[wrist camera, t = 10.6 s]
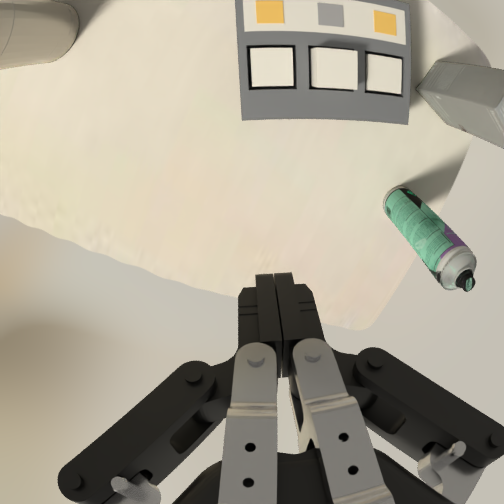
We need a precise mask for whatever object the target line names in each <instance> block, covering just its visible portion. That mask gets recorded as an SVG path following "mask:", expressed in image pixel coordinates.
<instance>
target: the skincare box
mask: <svg viewBox="0 0 504 504" xmlns="http://www.w3.org/2000/svg"><path fill="white" fill-rule="evenodd" d="M416 90H417V91H418V92H419V93H420V95H421V96H422V97H423V98H424V99H425V100H426V102H427V103H428V104H429V105H430V106H431V107H432V109H433V110H434V111H435V112H436V113H437V114H438V115H439V116H440V118H441V119H442V120H443V121H444V122H445V123H446V124H447V125H450V126H452V127H455V128H457V129H460V130H462V131H465V132H467V133H470V134H472V135H474V136H477V137H479V138H481V139H484V140H486V141H488V142H490V143H493V144H495V145H497V146H499V147H501V148H503V149H504V70H501V69H496V68H490V67H484V66H477V65H470V64H461V63H452V62H441V61H436V62H435V64H434V65H433V66H432V68H431V69H430V71H429V72H428V74H427V75H426V77H425V78H424V79H423V81H422V82H421V83H420V85H419V86H418V87H417V88H416Z"/></svg>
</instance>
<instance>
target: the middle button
mask: <svg viewBox="0 0 504 504" xmlns="http://www.w3.org/2000/svg"><path fill="white" fill-rule="evenodd" d="M310 65H311V86H314V87H320V88H339V89H353V90H357V81H358V58H357V51H352V50H343V49H332V48H318V47H316V48H312V49H310Z"/></svg>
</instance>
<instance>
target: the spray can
mask: <svg viewBox="0 0 504 504" xmlns="http://www.w3.org/2000/svg"><path fill="white" fill-rule="evenodd" d="M383 209H384V212H385V213H386V215H387V216H388V217H389V218H390V220H391V221H392V222H393V223H394V224H395V226H396V227H397V228H398V229H399V231H400V232H401V233H402V234H403V236H404V237H405V238H406V239H407V241H408V242H409V243H410V245H411V246H412V247H413V249H414V250H415V251H416V252H417V254H418V255H419V256H420V258H421V259H422V260H423V262H424V263H425V265H426V266H427V267H428V269H429V270H430V271H431V273H432V274H433V275H434V277H435V279H436V280H437V281H438V283H439V284H440V285H441V286H442V287H443V288H444V289H445V290H455V289H458V288H463V290H464V291H466V292H468V291H470V290H471V289H472V288H473V287H474V285H475V279H474V278H473V274H474V271H475V268H476V257H475V256H474V255H473V252H472V251H471V250H470V249H469V247H468V246H467V245H466V244H465V243H464V242H463V241H462V240H461V239H460V238H459V237H458V236H457V235H456V234H455V233H454V232H453V231H452V230H451V229H450V228H449V227H448V226H447V225H446V224H445V223H444V222H443V221H442V220H441V219H440V218H439V217H438V216H437V215H436V214H435V213H434V212H433V211H432V210H431V209H430V208H429V207H428V206H427V205H426V204H425V203H424V202H423V201H422V200H420V199H419V198H418V197H417V196H416V195H415V194H414V193H413V192H412V191H410V190H409V189H408V188H406V187H403V186H398V187H395V188H393V189H391V190H390V191H389V192H388V193H387V194H386V196H385V198H384V201H383Z"/></svg>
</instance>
